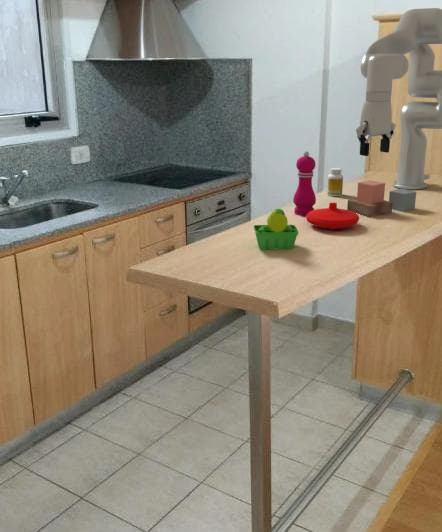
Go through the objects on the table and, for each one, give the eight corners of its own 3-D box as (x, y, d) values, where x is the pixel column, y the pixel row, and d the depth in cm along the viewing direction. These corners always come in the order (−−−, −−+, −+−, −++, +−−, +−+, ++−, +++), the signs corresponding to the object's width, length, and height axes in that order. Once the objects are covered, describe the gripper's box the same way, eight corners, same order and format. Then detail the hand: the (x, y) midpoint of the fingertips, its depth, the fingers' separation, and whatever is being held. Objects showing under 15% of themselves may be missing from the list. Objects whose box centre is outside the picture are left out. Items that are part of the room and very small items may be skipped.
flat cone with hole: (365, 223, 183) (367, 200, 180) (348, 236, 170) (350, 212, 168) (316, 217, 190) (317, 195, 188) (297, 229, 177) (297, 206, 175)
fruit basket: (294, 241, 165) (295, 201, 162) (299, 251, 157) (300, 210, 153) (252, 242, 165) (253, 202, 161) (255, 252, 157) (256, 210, 153)
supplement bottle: (343, 196, 216) (344, 169, 213) (328, 196, 216) (329, 170, 213) (340, 193, 221) (342, 167, 218) (326, 193, 221) (327, 167, 218)
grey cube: (399, 206, 202) (401, 188, 200) (414, 209, 198) (416, 191, 196) (388, 208, 199) (389, 191, 197) (403, 212, 195) (404, 194, 193)
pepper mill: (289, 214, 193) (291, 152, 186) (297, 209, 199) (299, 149, 192) (310, 217, 190) (313, 153, 183) (318, 212, 196) (321, 150, 189)
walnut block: (370, 208, 202) (371, 196, 201) (391, 214, 194) (392, 202, 192) (347, 211, 197) (347, 200, 196) (367, 218, 189) (368, 206, 188)
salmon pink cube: (368, 198, 198) (370, 180, 196) (383, 201, 194) (385, 183, 192) (356, 200, 195) (358, 182, 193) (371, 204, 190) (372, 185, 188)
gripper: (386, 95, 191) (382, 149, 197) (349, 98, 181) (346, 155, 187) (406, 96, 185) (401, 152, 191) (369, 100, 176) (365, 158, 182)
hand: (374, 153), depth 189 cm, fingers open, 9 cm apart
